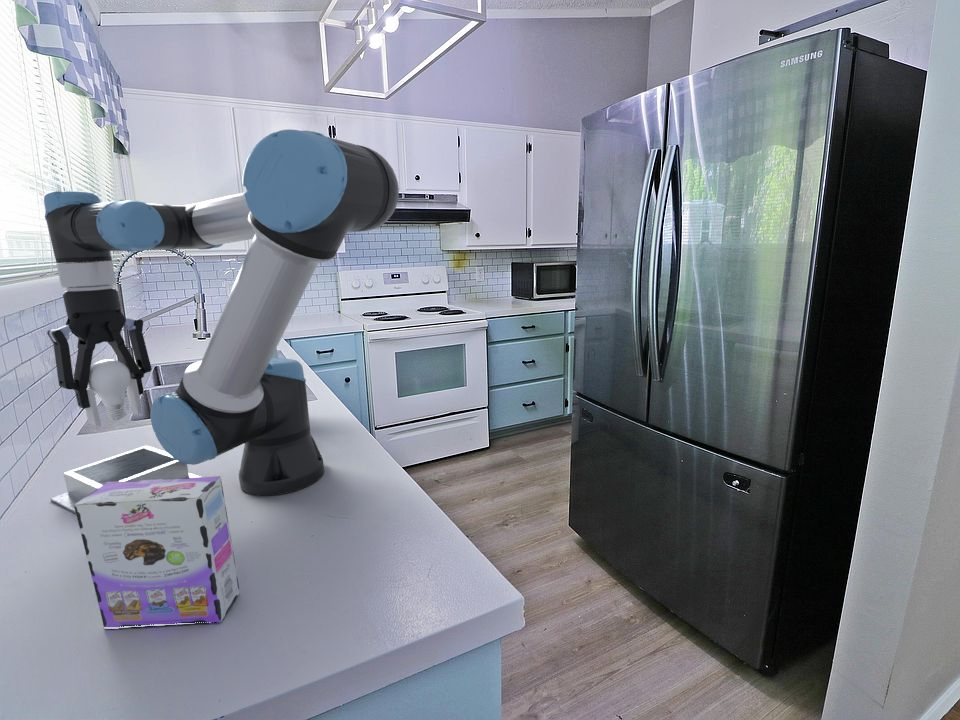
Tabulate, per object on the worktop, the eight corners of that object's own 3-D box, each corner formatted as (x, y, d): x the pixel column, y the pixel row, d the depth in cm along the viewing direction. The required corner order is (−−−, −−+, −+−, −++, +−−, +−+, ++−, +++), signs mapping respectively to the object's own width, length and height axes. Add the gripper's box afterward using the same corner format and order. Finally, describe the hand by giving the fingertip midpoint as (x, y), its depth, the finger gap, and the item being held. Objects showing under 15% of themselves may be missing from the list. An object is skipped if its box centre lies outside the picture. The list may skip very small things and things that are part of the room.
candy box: (242, 592, 66) (223, 473, 62) (221, 625, 60) (199, 497, 56) (132, 597, 65) (107, 478, 61) (100, 631, 59) (70, 503, 56)
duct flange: (206, 480, 97) (202, 456, 96) (99, 526, 82) (93, 498, 81) (155, 462, 106) (151, 440, 105) (51, 500, 91) (44, 475, 90)
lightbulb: (117, 426, 88) (103, 364, 85) (86, 425, 89) (72, 364, 86) (147, 414, 94) (135, 355, 91) (118, 413, 95) (105, 355, 92)
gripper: (139, 283, 96) (160, 401, 101) (9, 293, 80) (42, 432, 85) (160, 283, 92) (181, 406, 97) (28, 294, 76) (62, 440, 81)
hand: (116, 418), depth 91 cm, fingers closed on lightbulb, 6 cm apart
